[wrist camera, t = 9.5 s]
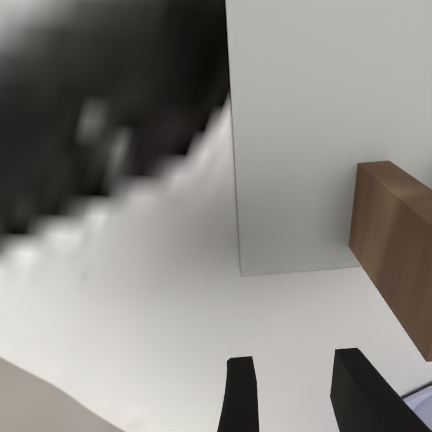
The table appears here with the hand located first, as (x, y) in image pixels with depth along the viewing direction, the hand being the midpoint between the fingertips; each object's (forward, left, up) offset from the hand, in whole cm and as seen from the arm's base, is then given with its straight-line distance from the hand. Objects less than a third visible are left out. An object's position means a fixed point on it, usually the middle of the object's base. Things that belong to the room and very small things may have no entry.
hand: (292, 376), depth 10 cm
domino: (-4, -5, -10) cm, 12 cm away
